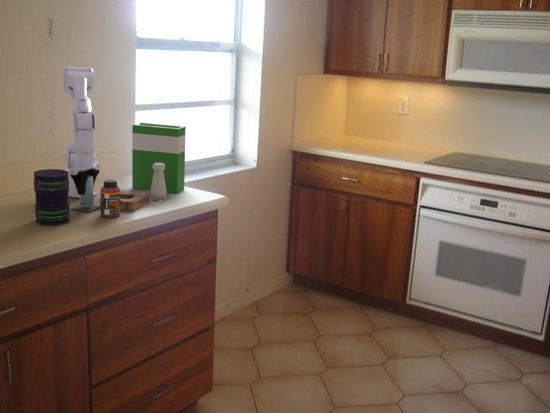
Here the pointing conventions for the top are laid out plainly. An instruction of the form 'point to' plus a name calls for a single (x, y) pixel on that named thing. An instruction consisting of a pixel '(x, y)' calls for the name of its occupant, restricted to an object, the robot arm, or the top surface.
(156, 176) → the salt shaker
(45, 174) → the storage jar
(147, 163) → the green cereal box
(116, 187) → the supplement bottle
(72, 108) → the robot arm
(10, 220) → the top surface
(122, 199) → the holder
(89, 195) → the peg
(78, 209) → the mat
